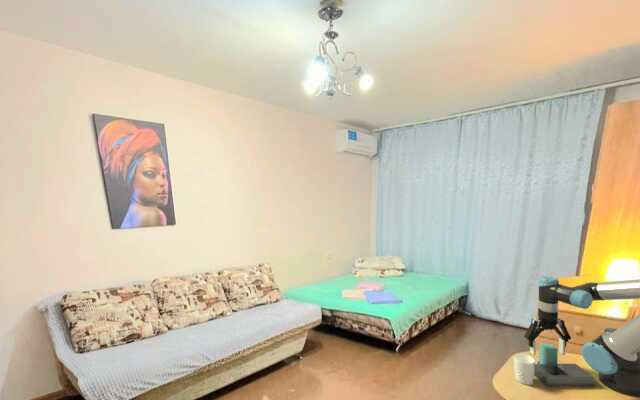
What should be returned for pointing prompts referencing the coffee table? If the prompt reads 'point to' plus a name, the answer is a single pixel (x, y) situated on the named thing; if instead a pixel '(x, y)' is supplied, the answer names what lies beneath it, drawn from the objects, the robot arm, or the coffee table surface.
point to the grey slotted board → (563, 375)
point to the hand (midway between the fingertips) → (547, 353)
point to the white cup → (524, 368)
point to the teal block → (547, 354)
